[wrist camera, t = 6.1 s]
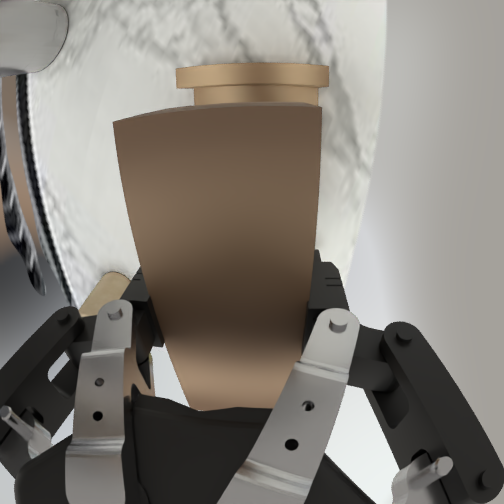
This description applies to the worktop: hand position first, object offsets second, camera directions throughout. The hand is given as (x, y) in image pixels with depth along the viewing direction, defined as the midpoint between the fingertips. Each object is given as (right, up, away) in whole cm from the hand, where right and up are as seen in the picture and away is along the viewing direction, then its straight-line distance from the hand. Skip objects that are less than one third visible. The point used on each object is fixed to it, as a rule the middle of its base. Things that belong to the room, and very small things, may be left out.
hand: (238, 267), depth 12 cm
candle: (-18, -4, +25) cm, 31 cm away
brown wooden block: (0, 0, +1) cm, 1 cm away
